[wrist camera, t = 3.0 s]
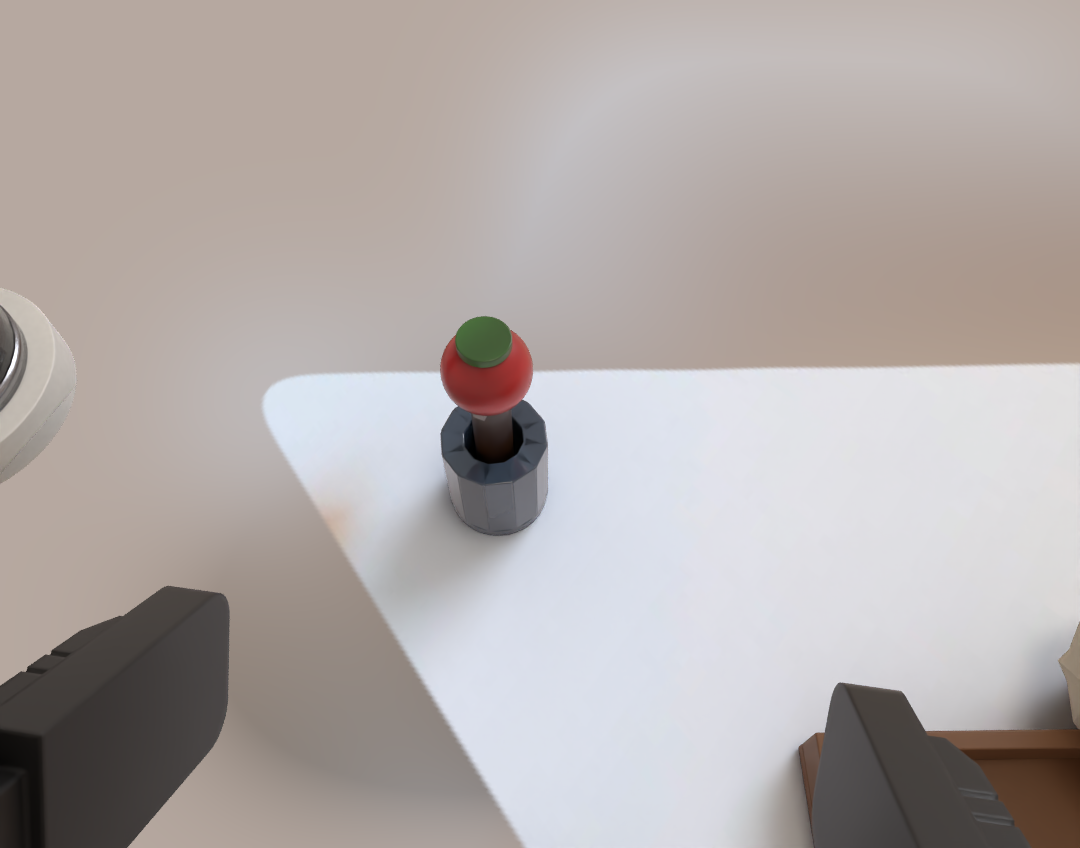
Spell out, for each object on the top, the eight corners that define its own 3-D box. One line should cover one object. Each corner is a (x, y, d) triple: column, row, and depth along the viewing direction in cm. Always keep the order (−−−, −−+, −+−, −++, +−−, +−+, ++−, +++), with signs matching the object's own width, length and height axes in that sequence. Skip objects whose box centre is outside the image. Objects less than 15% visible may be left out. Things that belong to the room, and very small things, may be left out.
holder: (435, 514, 40) (422, 461, 36) (477, 438, 42) (469, 379, 38) (523, 549, 39) (519, 500, 35) (561, 470, 41) (562, 414, 37)
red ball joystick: (449, 504, 40) (417, 359, 30) (481, 445, 41) (461, 288, 32) (517, 531, 39) (507, 391, 29) (547, 470, 40) (547, 318, 31)
